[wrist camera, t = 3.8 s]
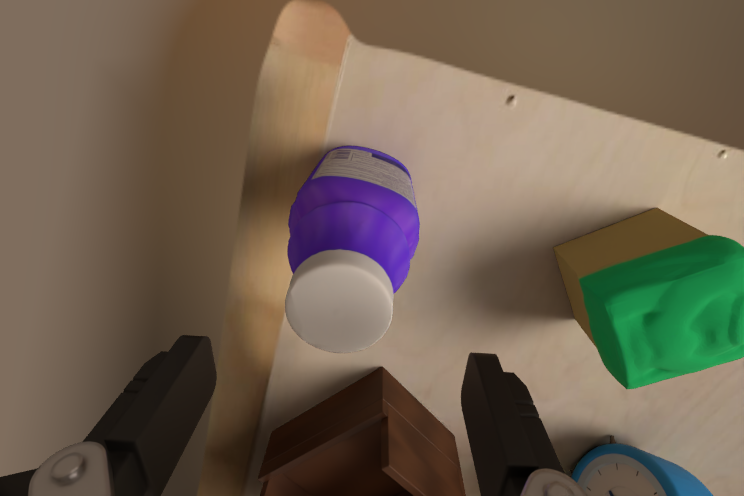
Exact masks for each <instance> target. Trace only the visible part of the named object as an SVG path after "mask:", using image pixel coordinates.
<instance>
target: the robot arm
mask: <svg viewBox="0 0 744 496" xmlns="http://www.w3.org/2000/svg"><path fill="white" fill-rule="evenodd" d="M216 377H217V376H216V368H215V363H214V357H213V352H212V346H211V341H210V339H209V337H206V336H188V335H182V336H180V337H179V339H178V340H177V341H176V342H175V344H174V345H173V346H172V348H171V349H170V350H169V352H160V353H159V354H157V355H156V356H154V357H153V358H151V359H150V360H149V361H147V362H146V363H145V364H144V365H143V366H142V367H141V369H140V370H139V371H138V373H137V374H136V375H135V376H134V378H133V381H130V383H129V384H128V385H127V386H126V388H125V389H124V392H123V393H121V394H120V395H119V397H118V398H117V399H116V400H115V402H114V403H113V404H112V405H111V407H110V408H109V409H108V411H107V412H106V413H105V414H104V416H103V417H102V418H101V419H100V421H99V422H98V423H97V424H96V426H95V427H94V428H93V430H92V431H91V432H90V433H89V434H88V436H87V437H86V438H85V439H84V441H83V442H80V443H77V444H73V445H70V446H68V447H66V448H63V449H62V450H60V451H58V452H56V453H55V454H53V455H52V456H51V457H49V458H48V459H47V460H46V461H45V462H44V463H43V464H42V465H41V466H40V467H39V468H37V469H34V470H29V471H25V472H20V473H16V474H12V475H8V476H3V477H0V496H161V494H162V492H163V490H164V488H165V486H166V484H167V482H168V480H169V478H170V476H171V474H172V473H173V470H174V469H175V466H176V465H177V463H178V461H179V459H180V457H181V455H182V453H183V451H184V449H185V447H186V445H187V443H188V441H189V439H190V438H191V436H192V434H193V432H194V430H195V428H196V426H197V424H198V422H199V420H200V418H201V416H202V414H203V412H204V410H205V408H206V406H207V404H208V402H209V401H210V399H211V397H212V395H213V392H214V389H215V385H216ZM461 405H462V411H463V416H464V420H465V425H466V429H467V434H468V439H469V443H470V448H471V452H472V457H473V461H474V466H475V470H476V475H477V479H478V484H479V488H480V493H481V496H588V495H587V494H586V492H585V491H584V490H583V488H582V487H581V486H580V485H579V484H578V483H577V482H575V481H574V480H573V479H572V478H570V477H569V476H567V475H566V474H565V473H564V471H563V469H562V467H561V465H560V462H559V460H558V458H557V455H556V453H555V451H554V449H553V446H552V444H551V442H550V439H549V437H548V435H547V432H546V430H545V428H544V426H543V423H542V421H541V419H540V418H539V414H538V412H537V409H536V407H535V405H533V400H532V398H531V396H530V393H529V391H528V389H527V386H526V385H525V384H524V383H523V382H522V381H521V380H520V379H519V378H518V377H517V376H516V375H515V374H514V373H510V372H503V370H502V367H501V365H500V362H499V359H498V357H497V355H496V354H486V353H470V354H469V357H468V361H467V366H466V371H465V375H464V380H463V385H462V390H461Z"/></svg>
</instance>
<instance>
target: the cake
mask: <svg viewBox="0 0 744 496" xmlns="http://www.w3.org/2000/svg"><path fill="white" fill-rule="evenodd" d="M553 249H554V252H555V256H556V259H557V262H558V265H559V269H560V272H561V275H562V278H563V281H564V285H565V288H566V291H567V294H568V297H569V301H570V304H571V307H572V310H573V313H574V317H575V320H576V321H577V322H578V324H579V325H580V326H581V328H582V329H583V330H584V332H585V333H586V334H587V336H588V337H589V338H590V340H591V341H592V342H593V344H594V345H595V346H596V348H597V350H598V352H599V354H600V357H601V359H602V361H603V363H604V365H605V366H606V368H607V369H608V371H609V372H610V373H611V374H612V375H613V376H614V377H615V379H616V380H617V381H618V382H620V383H621V384H622V385H623V386H624V387H625V388H626V389H634V388H638V387H642V386H646V385H649V384H652V383H655V382H659V381H662V380H666V379H669V378H673V377H677V376H681V375H684V374H688V373H694V372H697V371H701V370H704V369H707V368H710V367H713V366H716V365H720V364H723V363H727V362H730V361H734V360H737V359H740V358H743V357H744V247H743V246H742V245H740V244H739V243H737V242H736V241H734V240H732V239H729V238H726V237H722V236H716V235H707V234H705V233H703V232H702V231H700V230H698V229H696V228H694V227H692V226H690V225H688V224H687V223H685V222H683V221H681V220H679V219H677V218H675V217H673V216H672V215H670V214H668V213H666V212H664V211H662V210H660V209H659V208H654V209H652V210H649V211H647V212H644V213H641V214H639V215H636V216H634V217H631V218H628V219H626V220H623V221H621V222H618V223H615V224H613V225H610V226H608V227H605V228H602V229H600V230H597V231H595V232H592V233H589V234H587V235H584V236H582V237H579V238H576V239H574V240H571V241H569V242H566V243H563V244H561V245H558V246H556V247H553Z"/></svg>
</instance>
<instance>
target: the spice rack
mask: <svg viewBox="0 0 744 496" xmlns="http://www.w3.org/2000/svg"><path fill="white" fill-rule="evenodd" d="M258 480H259V481H260V482H262V483H263V487H262V490H261V494H260V496H466V494H465V489H464V483H463V478H462V473H461V468H460V462H459V457H458V452H457V447H456V442H455V436H454V435H453V434H452V433H451V432H450V431H449V430H448V429H447V428H446V427H445V426H444V425H443V424H442V423H441V422H440V421H439V420H437V419H436V418H435V417H434V416H433V415H432V414H431V413H430V412H429V411H428V410H427V409H426V408H425V407H424V406H423V405H422V404H421V403H420V402H419V401H418V400H417V399H416V398H415V397H414V396H413V395H412V394H411V393H409V392H408V391H407V390H406V389H405V388H404V387H403V386H402V385H401V384H400V383H399V382H398V381H397V380H396V379H395V378H394V377H393V376H392V375H391V374H390V373H389V372H388V371H387V370H386V369H385V368H384V367H381V368H379V369H377V370H376V371H374V372H372V373H371V374H369V375H367V376H366V377H364V378H362V379H360V380H359V381H357V382H355V383H354V384H352V385H350V386H349V387H347V388H345V389H344V390H342V391H340V392H338V393H337V394H335V395H333V396H332V397H330V398H328V399H327V400H325V401H323V402H321V403H320V404H318V405H316V406H315V407H313V408H311V409H310V410H308V411H306V412H305V413H303V414H301V415H299V416H298V417H296V418H294V419H293V420H291V421H289V422H288V423H286V424H284V425H283V426H281V427H279V428H277V429H276V430H274V431H272V433H271V436H270V440H269V443H268V446H267V450H266V453H265V457H264V460H263V463H262V466H261V470H260V473H259V476H258Z"/></svg>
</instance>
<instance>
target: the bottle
mask: <svg viewBox="0 0 744 496" xmlns="http://www.w3.org/2000/svg"><path fill="white" fill-rule="evenodd" d="M419 224H420V223H419V216H418V212H417V207H416V202H415V197H414V192H413V186H412V181H411V177H410V174H409V172H408V170H407V169H406V167H405V166H404V165H403V164H402V163H401V162H399V161H398V160H396V159H395V158H393V157H391V156H389V155H387V154H384V153H382V152H379V151H376V150H373V149H369V148H365V147H359V146H341V147H337V148H334V149H332V150H330V151H329V152H328V153H327V154H325V155H324V157H323V158H322V159H321V160H320V162H319V163H318V165H317V166H316V168H315V169H314V170H313V172H312V173H311V175H310V176H309V178H308V179H307V181H306V182H305V183H304V185H303V186H302V188H301V189H300V190H299V192H298V194H297V197H296V200H295V202H294V203H293V205H292V206H291V210H290V216H289V223H288V225H289V228H290V239H289V241H288V242H289V244H288V259H289V263H290V267H291V270H292V272H293V276H292V279H291V282H290V287H289V289H288V292H287V295H286V300H285V312H286V316H287V319H288V321H289V323H290V325H291V327H292V329H293V330H294V331H295V332H296V334H297V335H298V336H299V337H301V338H302V339H303V340H304V341H306V342H307V343H309V344H310V345H312V346H314V347H316V348H319V349H322V350H325V351H329V352H334V353H351V352H357V351H360V350H364V349H366V348H368V347H370V346H372V345H373V344H375V343H376V342H377V341H379V340H380V339H381V338H382V337H383V335H384V334H385V333H386V331H387V330H388V328H389V326H390V323H391V320H392V315H393V298H394V293H395V292H396V291H397V290H398V289H399V288H400V286H401V285H402V283H403V282H404V280H405V279H406V277H407V274H408V271H409V267H410V259H411V258H412V257H413V256H414V252H415V250H416V247H417V244H418V241H419Z"/></svg>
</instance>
